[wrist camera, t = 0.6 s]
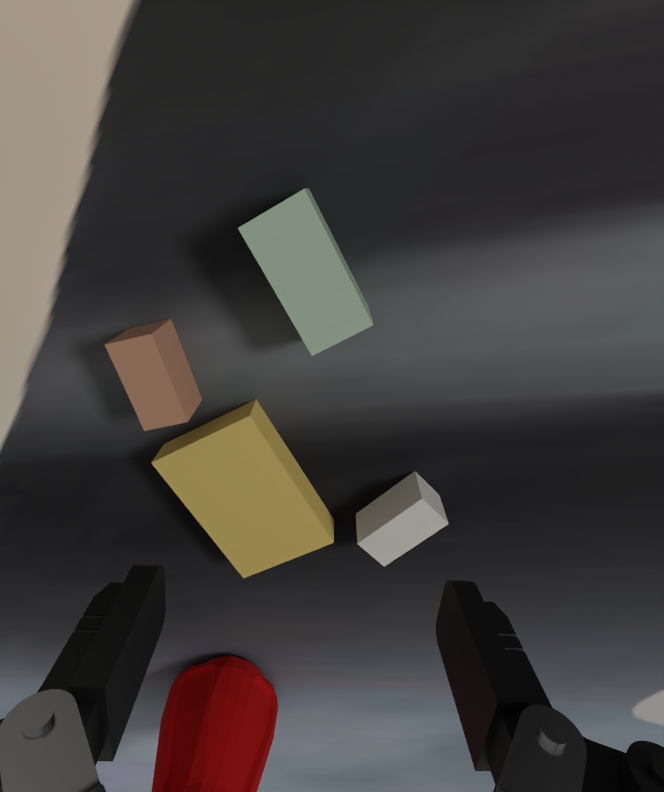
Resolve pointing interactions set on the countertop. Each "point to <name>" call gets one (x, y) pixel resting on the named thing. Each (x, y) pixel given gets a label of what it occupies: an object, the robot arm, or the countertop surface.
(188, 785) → the water bottle
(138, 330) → the rust brick
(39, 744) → the robot arm
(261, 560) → the mustard base brick
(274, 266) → the sage brick
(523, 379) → the countertop surface
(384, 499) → the cream brick
